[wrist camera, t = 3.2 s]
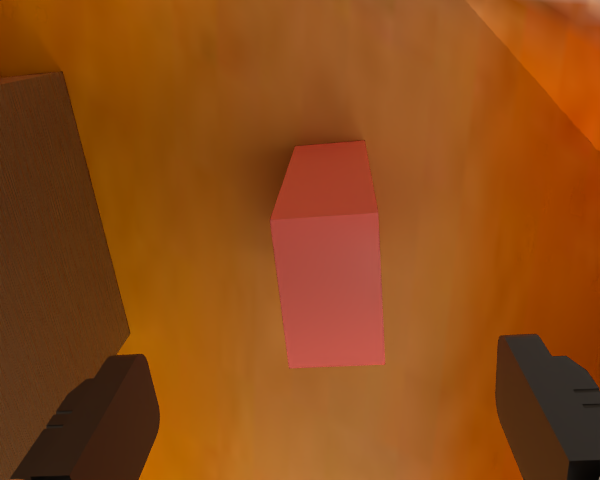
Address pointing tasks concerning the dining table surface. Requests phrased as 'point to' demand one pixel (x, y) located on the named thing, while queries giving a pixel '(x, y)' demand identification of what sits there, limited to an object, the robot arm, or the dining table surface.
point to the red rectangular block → (329, 258)
